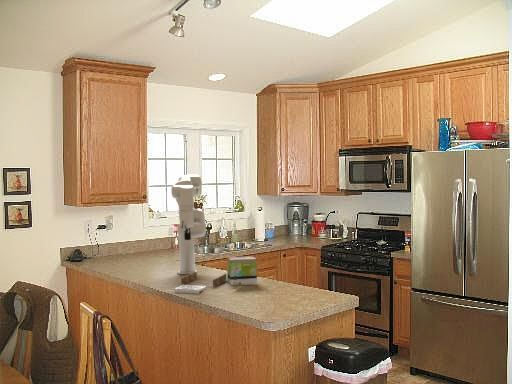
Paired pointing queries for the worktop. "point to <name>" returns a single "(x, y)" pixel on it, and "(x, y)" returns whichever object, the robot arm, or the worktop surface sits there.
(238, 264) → the tea box
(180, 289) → the cover plate
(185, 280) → the walnut case
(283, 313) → the worktop surface
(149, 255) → the worktop surface
